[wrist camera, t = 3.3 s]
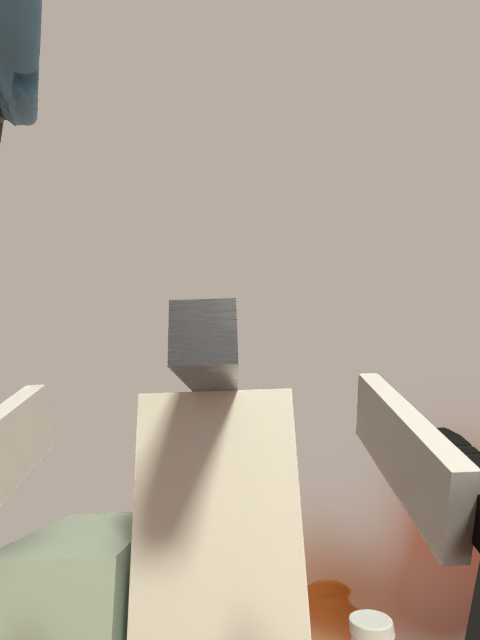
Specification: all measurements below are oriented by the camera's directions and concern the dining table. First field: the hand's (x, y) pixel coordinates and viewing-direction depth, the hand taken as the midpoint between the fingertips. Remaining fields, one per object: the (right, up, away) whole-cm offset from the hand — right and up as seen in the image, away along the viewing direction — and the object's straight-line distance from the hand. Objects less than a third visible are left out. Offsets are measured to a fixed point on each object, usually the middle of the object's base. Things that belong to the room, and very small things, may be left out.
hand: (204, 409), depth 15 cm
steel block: (-1, -3, +17) cm, 17 cm away
